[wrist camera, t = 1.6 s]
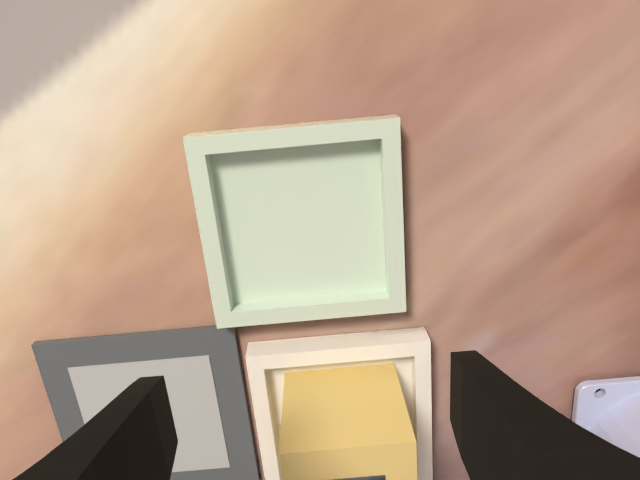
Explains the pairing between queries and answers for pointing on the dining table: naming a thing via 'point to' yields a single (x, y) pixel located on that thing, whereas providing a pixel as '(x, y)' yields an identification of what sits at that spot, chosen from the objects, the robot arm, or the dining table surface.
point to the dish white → (338, 352)
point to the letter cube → (346, 426)
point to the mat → (182, 387)
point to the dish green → (301, 219)
